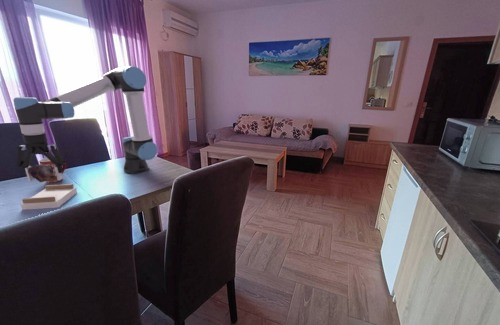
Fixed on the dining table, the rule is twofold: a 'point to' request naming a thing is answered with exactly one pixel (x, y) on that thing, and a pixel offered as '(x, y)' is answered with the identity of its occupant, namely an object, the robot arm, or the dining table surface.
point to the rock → (42, 172)
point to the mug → (47, 161)
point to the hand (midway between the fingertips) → (46, 179)
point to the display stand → (50, 197)
